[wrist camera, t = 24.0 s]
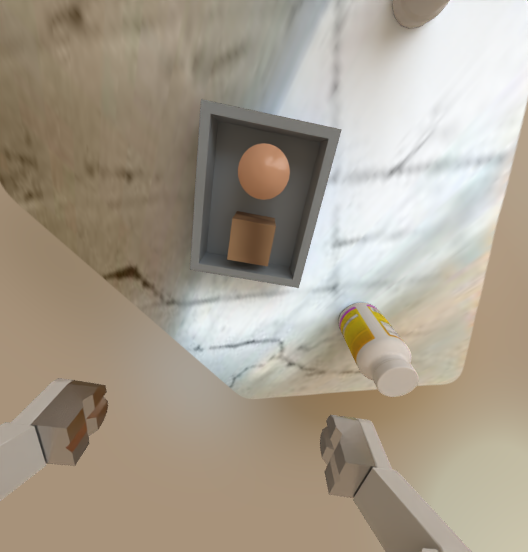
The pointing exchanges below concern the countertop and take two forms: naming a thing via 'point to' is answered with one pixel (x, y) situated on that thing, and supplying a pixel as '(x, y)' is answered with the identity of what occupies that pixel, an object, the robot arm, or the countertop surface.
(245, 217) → the cube
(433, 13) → the bottle
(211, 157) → the tote
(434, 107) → the countertop surface
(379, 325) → the supplement bottle
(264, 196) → the cylinder
